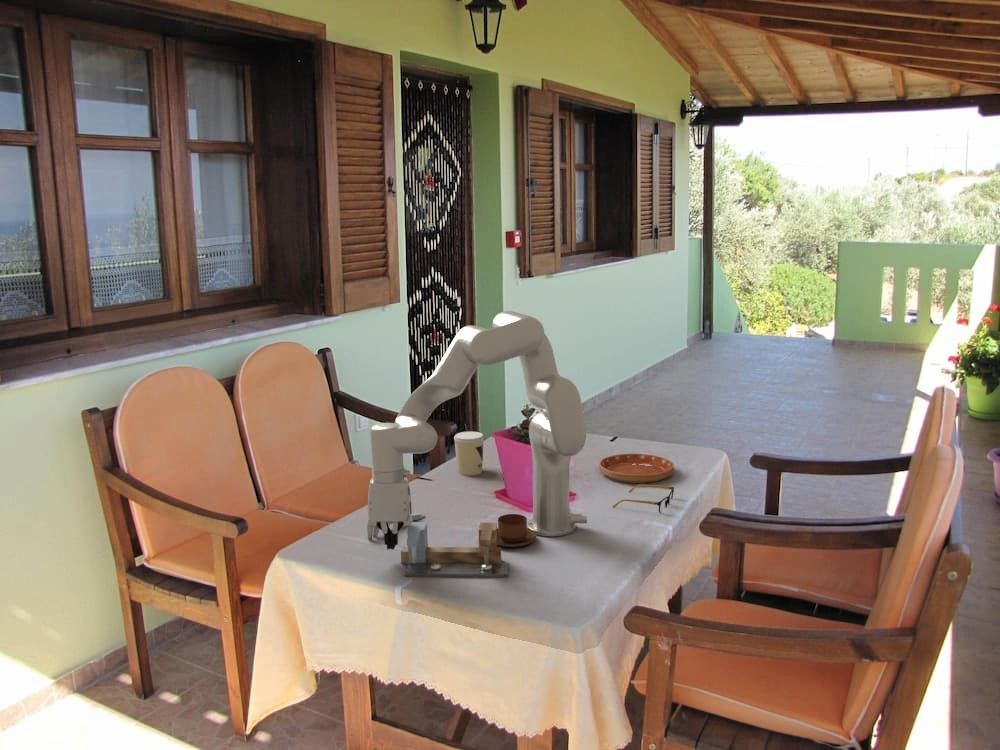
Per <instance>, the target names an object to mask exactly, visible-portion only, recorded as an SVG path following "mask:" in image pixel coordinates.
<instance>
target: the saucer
mask: <svg viewBox="0 0 1000 750" xmlns="http://www.w3.org/2000/svg"><path fill="white" fill-rule="evenodd" d="M634 463H635V464H636V465H632V464H634ZM639 464H649V465H652V466H645V465H639ZM598 468H599V472H601V473H602V474H603V475H605V476H606V477H607V478H608V479H609V478H610V479H611V480H613V481H618V482H622V481H623V482H624V483H629V482H631V483H630V484H646V483H645V482H649V483H654V482H653V481H655V482H658V481H657V480H659V481H661V479H662V480H664V479H666V478H667V477H669V476H671V475H672V474H673V473H674V469H675V464H674V463H673V462H672V461H671V460H669V459H667V458H665V457H662V456H658V455H653V454H644V453H621V454H614V455H610V456H606V457H604V458H602V459H601V460H599V463H598ZM665 477H666V478H665ZM663 478H664V479H663Z"/></svg>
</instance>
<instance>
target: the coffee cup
mask: <svg viewBox="0 0 1000 750" xmlns="http://www.w3.org/2000/svg"><path fill="white" fill-rule="evenodd" d="M453 439H454V440H453V441H454V448H455V459H456V468H457V473H458V474H459V475H460V476H461V475H462V476H469V477H470V476H477V475H480V474H481V473H482V471H483V457H484V440H485V437H484V435H483V433H481V432H480V431H479V432H478V431H462V432H458V433H456V434H455V435H454V437H453Z"/></svg>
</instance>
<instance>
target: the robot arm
mask: <svg viewBox="0 0 1000 750" xmlns="http://www.w3.org/2000/svg"><path fill="white" fill-rule="evenodd" d="M544 328H545V327H544V326H543V324H542V323H541V322H540V320H538V319H537V318H536V317H533V316H531V315H526V314H523V313H519V312H517V311H513V310H505V311H501V312H499V313H497V314H496V315H495V316H494V318H493V320H492V328H484V327H482V326H478V325H473V324H472V325H465V326H463V327H462V328H460V330H459V331H458V332H456V334H455V336H454V337H453V339H452V341H451V343H450V345H449V346H448V348H447V349H446V351H445V352H444V355H443V356H442V358H441V360H440V361H439V363H438V364H437V366H436V368H435V369H434V371H433V372H432V374H431V375H430V377H428V378H427V379H426V380H425V381H423V382H422V383H421V384H420V385H419V386H418V387H417V388H416V389H415V390H414V391H413V392H412V393H411V394H410V395H409V396H408V398H407V400H406V401H405V402H404V404H403V406H402V407H401V409H400V411H399V412H398V414H397V416H396V418H395V420H394V422H379V423H378V424H377V423H376V424H374V425H373V426H372V427H371V428H370V431H369V432H370V434H369V435H370V436H369V439H370V457H371V474H372V475H371V477H372V478H370V480H369V486H368V494H367V495H368V496H367V497H368V498H367V516H368V521H367V525H368V524H369V525H373V526H377V527H378V528H379V529H380V530H379V531H381V532H382V534H383V538H384V545H385V546H386V550H392V551H393V550H395V548H396V546H398V545H399V539H398V538H399V535H398V534H399V533H398V532H399V531H400V530H401V529H402V528H403V527H406V526H408V527H409V525H411V524H412V522H414V521H413V520H412V517H411V515H412V513H413V506H412V505H413V504H412V497H411V496H412V495H411V494H412V493H411V488H410V483H409V480H408V478H407V477H410V476H411V470H409V469H406V468H405V466H404V465H405V464H404V455H405V454H420V455H421V454H425V453H428V452H430V451H432V450H433V449H434V448H435V447H436V445H437V442H438V433H437V431H436V429H435V428H434V427H433V426H432V425H431V424H430V423H428V422H427V420H428V419H429V417H430V416H431V414H432V413H433V411H435V409H436V408H437V407H438V406H439V405H441V404H442V403H445V402H446V401H448V400H451V399H453V398H456V397H458V396H461V394H463V392H464V391H465V389H466V387H467V386H468V384H469V382H470V380H471V378H472V377H473V375H474V374H475V372H476V370H477V369H478V367H479V365H481V366H490V365H491V366H492V365H495V364H500V363H503V362H506V361H509V360H513V359H515V358H517V357H519V361H520V363H521V364H520V365H521V368H522V372H523V374H522V375H523V379H524V385H525V390H526V395H527V398H528V401H529V403H530V404H531V405H533V406H534V407H536V408H538V409H539V410H541V411H539V412H537V413H535V414H534V415H533V417H532V418H531V420H530V421H529V425H528V436H529V442H530V446H531V447H530V449H531V454H532V455H531V457H532V517H533V518H532V519H529V521H528V522H527V528H529V529H531V530H533V531H534V532H535V533H536V536H542V537H561V536H566V535H569V534H571V533H572V532H575V529H576V524H578V523H579V524H587V523H588V522H587V521H588V517H587V515H583V513H573V512H571V511H572V510H571V507H570V459H569V457H573V456H576V455H578V454H579V453H580V452H581V451H582V450H583V449H584V446H585V444H586V440H587V430H586V423H585V418H584V417H585V415H584V410H583V404H582V399H581V395H580V392H579V390H578V388H577V386H576V385H575V383H574V382H572V380H570V379H568V378H566V377H564V376H561V375H560V374H559V371H558V368H557V364H556V359H555V354H554V349H553V348H552V345H551V344H552V343H551V341H550V340H549V338H548V337H547V334H546V333H545V329H544ZM388 522H393V524H392V529H391V528H390V525H389V523H388Z"/></svg>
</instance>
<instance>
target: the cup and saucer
mask: <svg viewBox="0 0 1000 750" xmlns="http://www.w3.org/2000/svg"><path fill="white" fill-rule="evenodd" d="M527 519H528V518H527V517H526V516H525V515H522V514H517V513H508V514H503V515H500V516H499V517H498V518H497V546H501V547H505V548H517V547H518V548H519V547H523V546H527V545H529V544H531V543H532V542H533V541H535V540H536V538H537V534H536V533H535V532H534V531H533V530H531V529H529V528H527V524H528V522H527Z"/></svg>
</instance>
